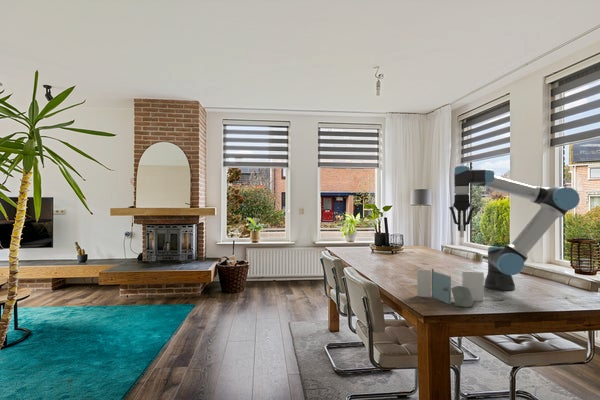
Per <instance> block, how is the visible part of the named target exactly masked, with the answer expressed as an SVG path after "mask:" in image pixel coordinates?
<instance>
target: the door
mask: <svg viewBox="0 0 600 400" xmlns="http://www.w3.org/2000/svg"><path fill="white" fill-rule="evenodd" d="M432 298H434V299H436V300H439V301H441V302H444V303H446V304H447V305H451V304H452V299H451V298H452V277H451V276H450V275H448V274H444V273H441V272H438V271H435V270H434V271H433V297H432Z"/></svg>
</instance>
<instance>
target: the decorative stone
mask: <svg viewBox="0 0 600 400" xmlns="http://www.w3.org/2000/svg"><path fill="white" fill-rule="evenodd" d="M451 294H452V298H454V299H453V301H454V305H455V306H456V307H462V308H469V307H471V306H473V305H474V300H473V298H472V295H471V292H470V290H469V289H468V288H467V287H464V286H462V285H456V286H453V287H451Z"/></svg>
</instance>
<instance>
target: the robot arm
mask: <svg viewBox="0 0 600 400" xmlns="http://www.w3.org/2000/svg"><path fill="white" fill-rule="evenodd" d="M453 172H454V174H453V176H454V177H453V178H454V182H453V183H454V185H453V187H454V191H453V193H454V195H453V197H454V201H453V205H451V206H449V207H448V209H449V210H450V211H451V216H452V220H453V223H454V224H455V225H457V231H458V232H459V238H465V236H464V234H465V232H466V229H467V226H468V225H469V224H470V223H471V220H472V215H473V212H474V210H475V209H476V207H474V206H473V205H471V203H470V185H474V186H475V185H476V186H479V187H484V188H488V189H490V190H493V191H494V190H495V191H498V192H501V193H505V194H507V195H512V196H515V197H518V198H522V199H526V200H528V201H530V202H531V203H534V204H537V205H540V209H539V210H538V211H537V212H536V213H535V215H534V216H533V217H532V218H531V219H530V221H529V222H528V223H527V224H526V226H524V228H523V229H522V230H521V231H520V232H519V233H518V235H517V236H516V238H515V239H514V240H513V241H512V242H511V243H510V244H508V243H507V244H506V245H505V246H489V247H488V248H487V274H486V276H485V279H484V287H485V288H488V289H492V290H497V291H513V290H516V284H515V281H514V279H513V276H516V275H518V274H520V273H521V272H522V271H523V270H524V269H525V268H524V267H525V263H526V262H527V260H528V253H530V251H531V250H532V249H533V248H534V247H535V245H536V244H537V243H538V241H540V240H541V238H542V237H543V236H544V235H545V233H546V232H547V231H549V229H550V227H551V226H552V225H553V224H554V223H555V222H556V221H557V219H558V218H562V217H565V215H566V214H567V213H569V211H571V210H573V209H575V208H577V206H579V203H580V195H579V193H578V191H577V190H576V189H575V188H572V187H570V186H555V187H554V186H553V187H545V186H540V185H536V186H532V185H529V184H525V183H521V182H518V181H515V180H514V181H513V180H511V179H507V178H503V177H500V176H496V175H495V171H494V170H493V169H492V168H491V169H489V168H488V169H487V168H486V169H485V168H482V169H472V168H471V169H470V166H469V165H458V166H455V167H454V171H453ZM454 209H455V210H456V211H457V217H456V213H455V210H454ZM468 209H469V211H468V214H467V210H468ZM461 215H462V216H461ZM461 220H462V221H461ZM461 223H462V224H461Z"/></svg>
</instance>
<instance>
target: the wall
mask: <svg viewBox="0 0 600 400" xmlns="http://www.w3.org/2000/svg"><path fill="white" fill-rule="evenodd" d="M416 270H417V271H416V276H417V277H416V278H417V279H416V280H417V281H416V282H417V283H416V284H417V285H416V292H417V294H416V296H417V297H422V298H423V297H424V298H434V297H433V271H435V270H434V268H432V269H428V268H417V269H416ZM461 272H462V273H461V274H462V275H461V279H462V282H461V283H462V284H461V286H464V287H467V288H468V289H469V290H470V292H471V295H472V298H473V301H476V302H477V301H478V302H479V301H481V302H484V300H485V298H484V295H485V294H484V293H485V292H484V290H485V288H484V287H485V279H484V277H485V276H484V275H485V273H484V271H469V270H468V271H467V270H462V271H461ZM451 300H454V298H453V297H451Z"/></svg>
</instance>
